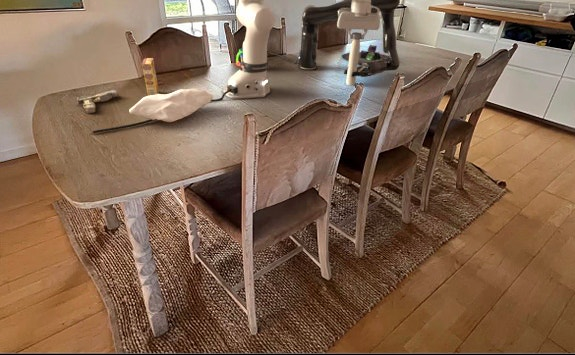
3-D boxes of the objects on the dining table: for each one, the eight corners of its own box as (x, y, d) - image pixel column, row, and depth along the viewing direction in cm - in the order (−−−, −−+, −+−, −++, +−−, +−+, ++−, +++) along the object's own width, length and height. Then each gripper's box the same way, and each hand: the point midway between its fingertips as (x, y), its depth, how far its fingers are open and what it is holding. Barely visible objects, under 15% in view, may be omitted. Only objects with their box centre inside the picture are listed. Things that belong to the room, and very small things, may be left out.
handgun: (128, 97, 156) (111, 87, 164) (86, 107, 144) (70, 97, 152) (129, 103, 157) (113, 94, 165) (88, 114, 146) (72, 103, 154)
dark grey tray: (408, 61, 231) (410, 46, 226) (368, 68, 213) (370, 52, 209) (368, 52, 256) (369, 39, 251) (330, 58, 238) (331, 43, 234)
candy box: (157, 97, 164) (152, 63, 155) (147, 98, 163) (141, 63, 155) (158, 91, 171) (153, 57, 163) (149, 91, 170) (143, 58, 162)
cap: (363, 39, 178) (363, 33, 176) (356, 39, 176) (356, 34, 174) (356, 37, 181) (357, 32, 180) (349, 38, 179) (350, 32, 177)
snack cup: (256, 64, 215) (256, 46, 209) (265, 68, 208) (265, 50, 202) (232, 67, 207) (231, 49, 202) (240, 72, 200) (240, 53, 195)
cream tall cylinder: (346, 85, 188) (353, 35, 175) (345, 82, 192) (351, 33, 179) (355, 85, 189) (362, 35, 175) (353, 82, 193) (360, 33, 179)
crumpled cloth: (117, 110, 146) (113, 90, 140) (195, 92, 166) (194, 73, 160) (143, 139, 134) (140, 118, 128) (223, 116, 154) (224, 96, 148)
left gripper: (339, 8, 168) (336, 39, 175) (383, 9, 169) (378, 41, 176) (337, 6, 173) (334, 36, 181) (380, 7, 174) (375, 38, 181)
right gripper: (361, 58, 198) (339, 62, 188) (382, 64, 188) (359, 69, 179) (359, 72, 202) (337, 77, 192) (379, 78, 192) (357, 84, 183)
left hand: (356, 38), depth 178 cm, fingers closed on cap, 4 cm apart
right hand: (348, 73), depth 186 cm, fingers closed on cream tall cylinder, 4 cm apart
